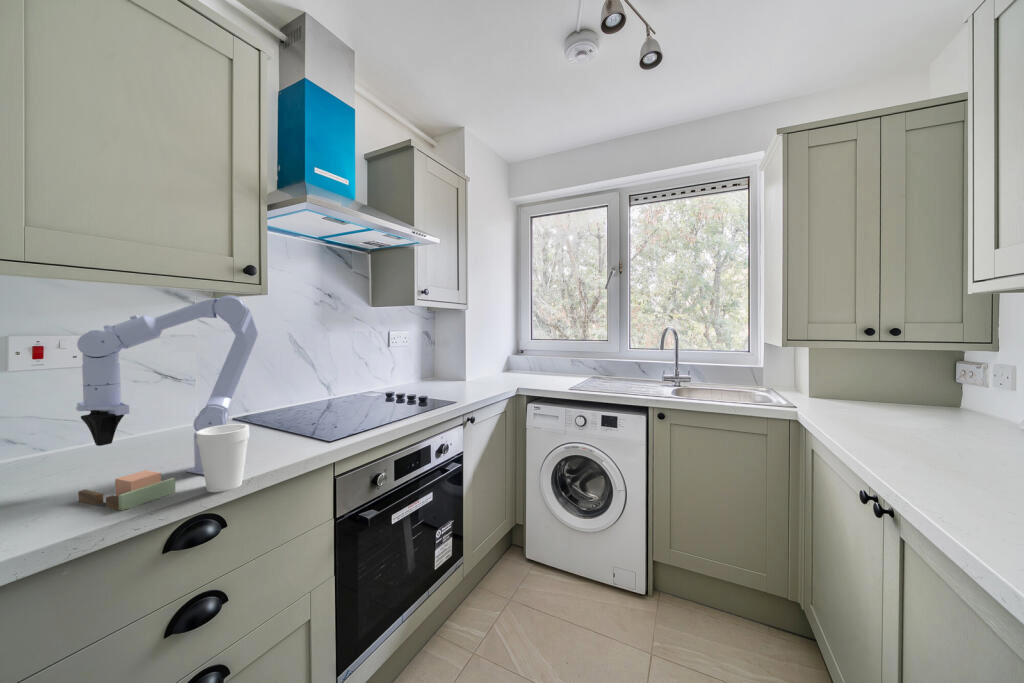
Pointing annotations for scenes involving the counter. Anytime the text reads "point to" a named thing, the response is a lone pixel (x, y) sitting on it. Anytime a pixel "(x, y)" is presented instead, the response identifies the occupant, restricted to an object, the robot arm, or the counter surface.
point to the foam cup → (223, 455)
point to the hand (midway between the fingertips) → (104, 444)
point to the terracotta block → (136, 481)
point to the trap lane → (129, 495)
